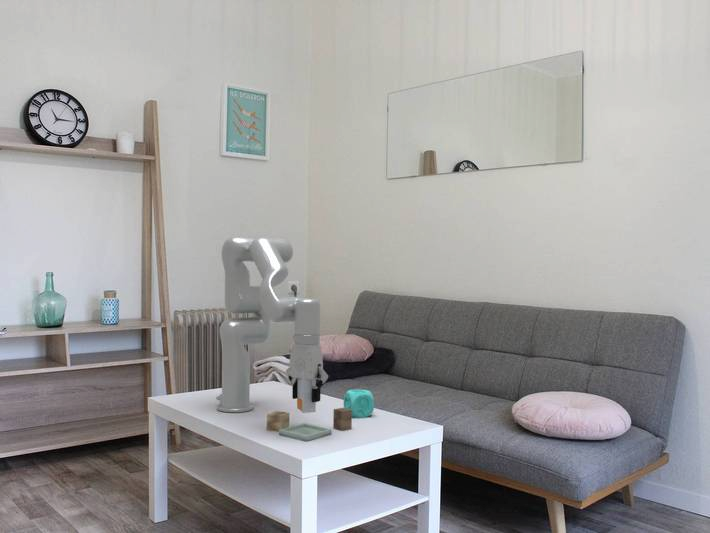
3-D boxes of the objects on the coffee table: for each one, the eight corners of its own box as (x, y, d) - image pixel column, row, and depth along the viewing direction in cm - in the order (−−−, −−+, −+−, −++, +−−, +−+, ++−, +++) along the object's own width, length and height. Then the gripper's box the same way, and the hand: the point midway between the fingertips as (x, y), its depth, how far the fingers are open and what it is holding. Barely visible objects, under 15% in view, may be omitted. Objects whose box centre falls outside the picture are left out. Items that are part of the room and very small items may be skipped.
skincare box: (296, 409, 202) (297, 369, 202) (310, 408, 203) (310, 368, 203) (302, 413, 196) (302, 372, 196) (316, 412, 198) (316, 371, 198)
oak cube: (266, 430, 204) (266, 414, 204) (275, 426, 209) (275, 410, 209) (280, 432, 202) (281, 415, 202) (289, 428, 207) (289, 412, 207)
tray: (279, 434, 199) (279, 429, 199) (304, 428, 208) (304, 423, 208) (306, 441, 192) (306, 436, 192) (331, 434, 201) (331, 429, 201)
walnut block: (333, 428, 208) (333, 409, 208) (343, 426, 211) (343, 407, 211) (341, 431, 205) (341, 411, 205) (351, 429, 208) (351, 409, 208)
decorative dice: (364, 412, 232) (365, 388, 232) (374, 417, 225) (374, 393, 225) (343, 413, 229) (343, 390, 229) (351, 418, 222) (352, 394, 222)
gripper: (277, 338, 202) (276, 398, 202) (320, 343, 191) (319, 405, 191) (294, 337, 208) (293, 394, 208) (337, 341, 197) (336, 402, 197)
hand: (306, 399), depth 200 cm, fingers closed on skincare box, 7 cm apart
